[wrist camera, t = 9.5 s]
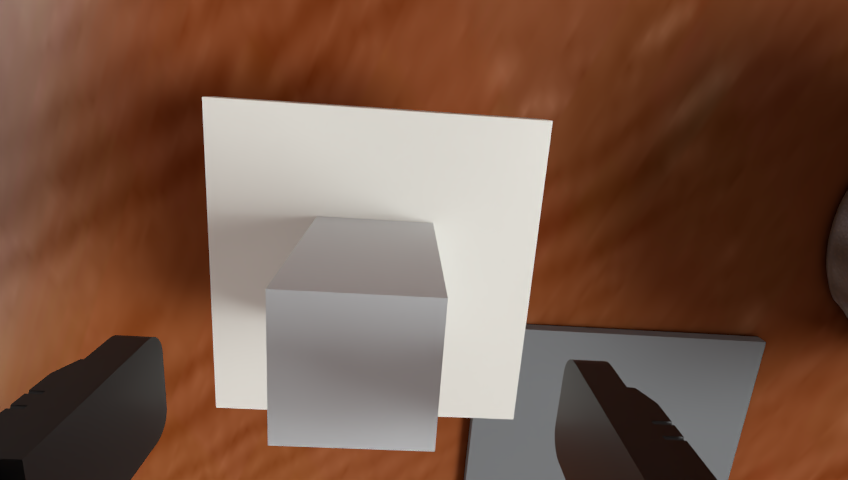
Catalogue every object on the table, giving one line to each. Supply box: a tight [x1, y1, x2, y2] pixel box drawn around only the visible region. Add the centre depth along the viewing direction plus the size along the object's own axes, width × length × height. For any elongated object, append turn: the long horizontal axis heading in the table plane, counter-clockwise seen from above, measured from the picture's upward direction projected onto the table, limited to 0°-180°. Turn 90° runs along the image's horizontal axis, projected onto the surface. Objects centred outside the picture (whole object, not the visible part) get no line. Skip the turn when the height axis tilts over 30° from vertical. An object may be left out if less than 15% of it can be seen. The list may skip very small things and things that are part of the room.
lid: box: [202, 96, 553, 452], centre depth 14 cm, size 10×10×7 cm
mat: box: [464, 324, 766, 480], centre depth 28 cm, size 14×14×1 cm
